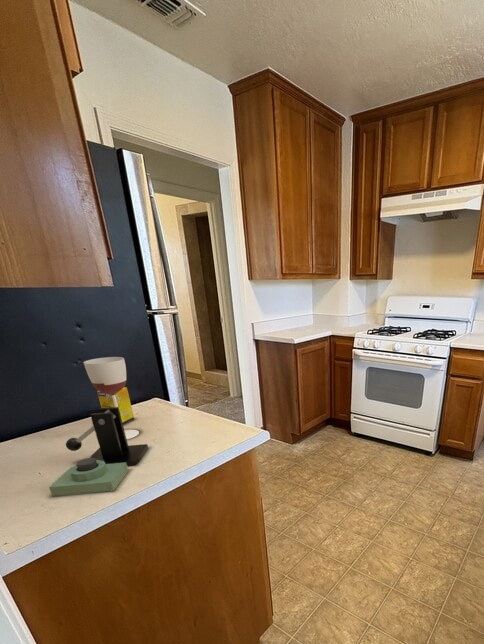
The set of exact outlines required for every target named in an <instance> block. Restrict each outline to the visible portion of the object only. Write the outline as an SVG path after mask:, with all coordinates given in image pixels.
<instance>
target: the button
mask: <svg viewBox="0 0 484 644" xmlns="http://www.w3.org/2000/svg"><path fill="white" fill-rule="evenodd" d="M76 465H77V468H78V471H79V472H83V471H89V470H93V469H95V468H97V467H98V465H97V462H96V459H95V458H90V457H86V458H82V459H80V460H78V461H77V462H76ZM76 465H75V466H76Z"/></svg>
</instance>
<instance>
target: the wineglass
mask: <svg viewBox="0 0 484 644" xmlns="http://www.w3.org/2000/svg"><path fill="white" fill-rule="evenodd" d="M83 365H84V368H85V371H86V374H87V376H88V378H89V381H90V383H91V384H92V386H93V387H94V389H95V390H97V391H100V392H103V393H106V394H110V395H112V399H113V403H114V407H118V405H117V401H116V397H115V394H116V393H117V392H119V391H120V390H122V389H123V388H124V387H125V386H126V385H127V366H126V361H125V358H124V357H123V356H108V357H107V356H105V357H98V358H92V359H87V360H84V361H83ZM124 431H125V435H126V439H127V440H129V439H130V440H131V439H133V438H135V437H137V436H138V435H140V431H139V430H136V429H124Z"/></svg>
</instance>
